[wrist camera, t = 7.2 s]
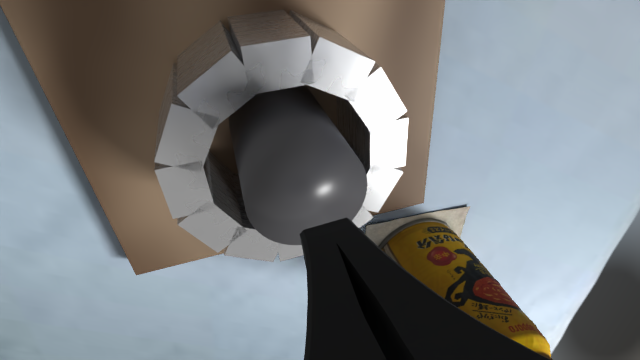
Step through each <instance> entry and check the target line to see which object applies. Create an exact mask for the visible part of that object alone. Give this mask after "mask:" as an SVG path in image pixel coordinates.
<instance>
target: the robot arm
mask: <svg viewBox="0 0 640 360" xmlns="http://www.w3.org/2000/svg"><path fill="white" fill-rule="evenodd" d="M300 239H301V244H302V249H303V254H304V259H305V264H306V269H307V287H308V309H307V332H306V345H305V356H304V360H551V359H549V358H546V357H544V356H542V355H540V354H539V353H537V352H535V351H533V350H531V349H529V348H527V347H525V346H523V345H522V344H520V343H518V342H516V341H514V340H512V339H510V338H508V337H507V336H505V335H503V334H501V333H499V332H497V331H495V330H494V329H492V328H490V327H489V326H487V325H485V324H484V323H482V322H480V321H479V320H477V319H475V318H474V317H472V316H470V315H469V314H467V313H466V312H464V311H462V310H461V309H459V308H458V307H456V306H455V305H453V304H452V303H450V302H449V301H447V300H446V299H444V298H443V297H441V296H440V295H439V294H437V293H436V292H434V291H433V290H432V289H430V288H429V287H427V286H426V285H425V284H423V283H422V282H421V281H419V280H418V279H417V278H415V277H414V276H413V275H412V274H410V273H409V272H408V271H407V270H405V269H404V268H403V267H402V266H400V265H399V264H398V263H397V262H396V261H394V260H393V259H392V258H391V257H390V256H388V255H387V254H386V253H385V252H384V251H383V250H382V249H380V248H379V247H378V246H377V245H376V244H375V243H374V242H373V241H372V240H371V239H370V238H368V237H367V236H366V235H365V234H364V233H363V232H362V231H361V230H360V229H359V228H358V227H357V226H356V225H355V224H354V223H353V222H352V221H351V220H350V219H349V218H347V217H346V218H343V219H339V220H336V221H332V222H329V223H325V224H322V225H319V226H315V227H312V228H308V229H305V230H303V231H302V232H301V233H300Z"/></svg>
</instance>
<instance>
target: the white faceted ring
mask: <svg viewBox="0 0 640 360" xmlns="http://www.w3.org/2000/svg"><path fill="white" fill-rule="evenodd" d="M228 22H229V27H230V32H231V33H230V32H229V30H228V29H227V28H226V27H225V26H224V24H223V23H222V22H221V21H218V22H217V23H216V24H215V25H214V26H212V27H211V28H210V29H209V30H208V31H207V32H205V33H204V34H203V35H202V36H201V37H199V38H198V39H197V40H196V41H195V42H194V43H192V44H191V45H190V46H189V47H188V48H186V49H185V50H184V51H183V52H182V53H181V54H179V55H178V56H177V64H176V63H173V65H172V69H171V72H170V76H169V79H168V83H167V86H166V90H165V93H164V97H163V100H162V103H161V107H160V110H159V118H158V128H157V138H156V148H155V158H154V162H155V169H154V170H155V173H156V176H157V178H158V181H159V184H160V186H161V189H162V192H163V194H164V197H165V200H166V202H167V205H168V207H169V210H170V213H171V215H172V218H173V219H175V218H177V225H179V226H180V227H181V228H183V229H184V230H186V231H187V232H189V233H190V234H191V235H193V236H194V237H196V238H197V239H199V240H200V241H201V242H203V243H204V244H206V245H207V246H209V247H210V248H212V249H213V250H214V251H216V252H217V253H218V252H220V251H221V250H222V249H224V255H225V256H233V257H240V258H248V259H255V260H263V261H270V262H273V261H274V259H275V257H276V255H277V253H278V255H279V259H280V261H284V260H287V259H291V258H295V257H299V256H303V255H304V254H303V249H302V245H286V244H281V243H277V242H274V241H272V240H269V239H268V238H266V237H264V236H263V235H261V234H260V233H259V232H258V231H257V230H256V229H255V228H254V227H253V226H252V224H251V223H250V221H249V219H248V217H247V214H246V210H245V205H244V200H243V195H242V190H241V185H240V179H239V174H237V173H233V172H231V171H230V170H229V169H228V168H227V167H226V166H225V165H224V164H222V163H221V162H220V161H219V160H218V159H217V158H216V157H215V156H214V155H212V154H211V153H210V152H209V149H210V146H211V144H212V141H213V138H214V135H215V133H216V130H217V127H218V125H219V124H220V123H221V122H223V121H224V120H225V119H226V118H228V117H229V116H230V115H231V114H233V113H234V112H235V111H236V110H238V109H239V108H240V107H241V106H243V105H244V104H245V103H246V102H248V101H249V100H250V99H251V98H253V97H254V96H255V95H256V94H258V93H264V92H269V91H275V90H280V89H286V88H292V87H297V86H303V85H309V86H311V87H314V88H317V89H320V90H322V91H325V92H328V93H330V94H333V95H336V103H337V126H336V128H337V129H338V130H339V132H340V133H341V135H342V136H343V137H344V139H345V140H346V142H347V143H348V144H349V146H350V147H351V148H352V150H353V151H354V153H355V154H356V155H357V157H358V158H359V160H360V161H361V163H362V165H363V166H364V169H365V172H366V176H367V192H366V197H365V200H364V202H363V205H362V207H361V209H360V210H359V212H358V213H357V215H356V216H355V217H354V219H353V220H352V222H353V223H354V224H355V225H356V226H357V227H358V228H360V227H361V226H362V225H364V224H365V223H367V222H368V221H369V220H371V219H372V218H373V216H372V215H371V213H370V212H369V211H373V212H377V213H378V212H379V210H380V209H381V207H382V206H383V204H384V202H385V201H386V199H387V197H388V196H389V194H390V193H391V191H392V189H393V188H394V186H395V184H396V183H397V181H398V180H399V178H400V176H401V175H402V173H403V171H402V170H401V169H400V168H399V167H401V166H405V162H406V148H407V133H408V117H407V116H406V115H405V114H404V113H405V112H407V110H406V109H405V107H404V105H403V103H402V102H401V100H400V98H399V97H398V95H397V93H396V91H395V90H394V88H393V86H392V85H391V83H390V81H389V79H388V78H387V76H386V74H385V73H384V71H383V69H382V67H381V66H379V65H378V64H377V63H376V62H375V61H374V60H373V59H371V58H370V57H369V56H368V55H366V54H365V53H364V52H362V51H361V50H360V49H359V48H357V47H356V46H355V45H353V44H352V43H351V42H350V41H348V40H347V39H346V38H344V37H343V36H342V35H341V34H339V33H338V32H337V31H334V30H332V29H330V28H328V27H326V26H324V25H321V24H319V23H317V22H315V21H313V20H311V19H308V18H306V17H304V16H302V15H300V14H297V13H295V12H293V11H291V10H290V13H289V15H288V14H287V13H286V12H285V11H284V10H283V9H280V10H273V11H266V12H259V13H252V14H244V15H237V16H230V17H228Z"/></svg>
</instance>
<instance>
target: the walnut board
mask: <svg viewBox="0 0 640 360" xmlns="http://www.w3.org/2000/svg"><path fill="white" fill-rule="evenodd" d="M0 6H1V8H2V10H3V12H4V14H5V15H6V17H7V19H8V21H9V23H10V25H11V27H12V29H13V31H14V33H15V35H16V37H17V39H18V41H19V43H20V45H21V47H22V49H23V51H24V53H25V55H26V57H27V59H28V61H29V63H30V65H31V67H32V69H33V71H34V73H35V75H36V77H37V79H38V81H39V83H40V85H41V87H42V89H43V91H44V93H45V95H46V97H47V99H48V101H49V103H50V105H51V107H52V109H53V111H54V113H55V115H56V117H57V119H58V121H59V123H60V125H61V127H62V129H63V131H64V133H65V135H66V137H67V139H68V141H69V143H70V145H71V147H72V149H73V151H74V153H75V155H76V157H77V159H78V161H79V163H80V165H81V166H82V168H83V170H84V172H85V174H86V176H87V178H88V180H89V182H90V184H91V186H92V188H93V190H94V192H95V194H96V196H97V198H98V200H99V202H100V204H101V206H102V208H103V210H104V212H105V214H106V216H107V218H108V220H109V222H110V224H111V226H112V228H113V230H114V232H115V234H116V236H117V238H118V240H119V242H120V244H121V246H122V248H123V250H124V252H125V254H126V256H127V258H128V260H129V262H130V264H131V266H132V268H133V270H134V272H135V274H136V275H139V274H143V273H147V272H151V271H155V270H159V269H163V268H167V267H171V266H175V265H179V264H183V263H187V262H191V261H195V260H199V259H203V258H206V257H210V256H214V255H218V254H222V253H224V249H222V250H221V251H220V252H218V253H217V252H216V251H214V250H213V249H212V248H210V247H209V246H207V245H206V244H204V243H203V242H201V241H200V240H199V239H197V238H196V237H194V236H193V235H191V234H190V233H189V232H187V231H186V230H184V229H183V228H181V227H180V226H179V225H177V218H175V219H173V218H172V215H171V213H170V210H169V207H168V205H167V202H166V200H165V197H164V194H163V192H162V189H161V186H160V184H159V181H158V178H157V176H156V173H155V170H154V169H155V162H154V158H155V148H156V138H157V128H158V118H159V110H160V107H161V103H162V100H163V97H164V93H165V90H166V86H167V83H168V79H169V76H170V72H171V69H172V65H173V63H176V64H177V56H178V55H179V54H181V53H182V52H183V51H184V50H185V49H186V48H188V47H189V46H190V45H191V44H192V43H194V42H195V41H196V40H197V39H198V38H199V37H201V36H202V35H203V34H204V33H205V32H207V31H208V30H209V29H210V28H211V27H212V26H214V25H215V24H216V23H217V22H218V21H221V22H222V23H223V24H224V26H225V27H226V28H227V29H228V30H229V32H230V27H229V22H228V17H230V16H237V15H244V14H252V13H259V12H266V11H273V10H280V9H283V10H284V11H285V12H286V13H287V14H288V15H289V13H290V10H291V11H293V12H295V13H297V14H300V15H302V16H304V17H306V18H308V19H311V20H313V21H315V22H317V23H319V24H321V25H324V26H326V27H328V28H330V29H332V30H334V31H337V32H338V33H339V34H341V35H342V36H343V37H344V38H346V39H347V40H348V41H350V42H351V43H352V44H353V45H355V46H356V47H357V48H359V49H360V50H361V51H362V52H364V53H365V54H366V55H368V56H369V57H370V58H371V59H373V60H374V61H375V62H376V63H377V64H378V65H379V66H381V67H382V69H383V71H384V73H385V74H386V76H387V78H388V79H389V81H390V83H391V85H392V86H393V88H394V90H395V91H396V93H397V95H398V97H399V98H400V100H401V102H402V103H403V105H404V107H405V109H406V110H407V112H405V113H404V114H405V115H406V116H407V117H408V133H407V148H406V162H405V166H401V167H399V168H400V169H401V170H402V171H403V173H402V175H401V176H400V178H399V180H398V181H397V183H396V184H395V186H394V188H393V189H392V191H391V193H390V194H389V196H388V197H387V199H386V201H385V202H384V204H383V206H382V207H381V209H380V210H379V212H378V213H377V212H373V211H369V212H370V213H371V215H372V216H373V215H377V214H381V213H385V212H389V211H393V210H397V209H401V208H405V207H409V206H413V205H417V204H421V203H424V194H425V185H426V176H427V166H428V157H429V147H430V138H431V129H432V119H433V110H434V100H435V91H436V82H437V72H438V63H439V54H440V44H441V35H442V25H443V16H444V7H445V0H0ZM230 33H231V32H230ZM304 86H305V87H306V88H307V89H309V91H310V92H311V93H312V94H313V96H314V97H315V99H316V100H317V101H318V103H319V104H320V106H321V107H322V108H323V110H324V111H325V112H326V114H327V115H328V117H329V118H330V119H331V121H332V122H333V124H334V125H335V126H337V103H336V95H333V94H330V93H328V92H325V91H322V90H320V89H317V88H314V87H311V86H309V85H304ZM209 152H210V153H211V154H212V155H214V156H215V157H216V158H217V159H218V160H219V161H220V162H221V163H222V164H224V165H225V166H226V167H227V168H228V169H229V170H230V171H231V172H233V173H237V174H238V169H237V164H236V159H235V153H234V148H233V143H232V138H231V133H230V127H229V117H228V118H226V119H225V120H224V121H223V122H221V123H220V124H219V125H218V127H217V130H216V133H215V135H214V138H213V141H212V144H211V146H210V149H209Z"/></svg>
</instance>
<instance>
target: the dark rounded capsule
mask: <svg viewBox="0 0 640 360" xmlns="http://www.w3.org/2000/svg"><path fill="white" fill-rule="evenodd" d="M229 127H230V133H231V138H232V143H233V148H234V153H235V159H236V164H237V169H238V174H239V179H240V185H241V190H242V195H243V200H244V205H245V210H246V214H247V217H248V219H249V221H250V223H251V224H252V226H253V227H254V228H255V229H256V230H257V231H258V232H259V233H260V234H261V235H263V236H264V237H266V238H268V239H269V240H272V241H274V242H277V243H281V244H286V245H302V244H301V239H300V233H301V232H302V231H303V230H305V229H308V228H312V227H315V226H319V225H322V224H325V223H329V222H332V221H336V220H339V219H343V218H346V217H347V218H349V219H350V220H351V221H352V220H353V219H354V217H355V216H356V215H357V213H358V212H359V210H360V209H361V207H362V205H363V202H364V200H365V197H366V192H367V176H366V172H365V169H364V166H363V165H362V163H361V161H360V160H359V158H358V157H357V155H356V154H355V153H354V151H353V150H352V148H351V147H350V146H349V144H348V143H347V142H346V140H345V139H344V137H343V136H342V135H341V133H340V132H339V130H338V129H337V128H336V126H335V125H334V124H333V122H332V121H331V119H330V118H329V117H328V115H327V114H326V112H325V111H324V110H323V108H322V107H321V106H320V104H319V103H318V101H317V100H316V99H315V97H314V96H313V94H312V93H311V92H310V91H309V89H307V88H306V87H305V86H304V85H303V86H297V87H292V88H286V89H280V90H275V91H269V92H264V93H258V94H256V95H255V96H254V97H253V98H251V99H250V100H249V101H248V102H246V103H245V104H244V105H243V106H241V107H240V108H239V109H238V110H236V111H235V112H234V113H233V114H231V115H230V116H229Z"/></svg>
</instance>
